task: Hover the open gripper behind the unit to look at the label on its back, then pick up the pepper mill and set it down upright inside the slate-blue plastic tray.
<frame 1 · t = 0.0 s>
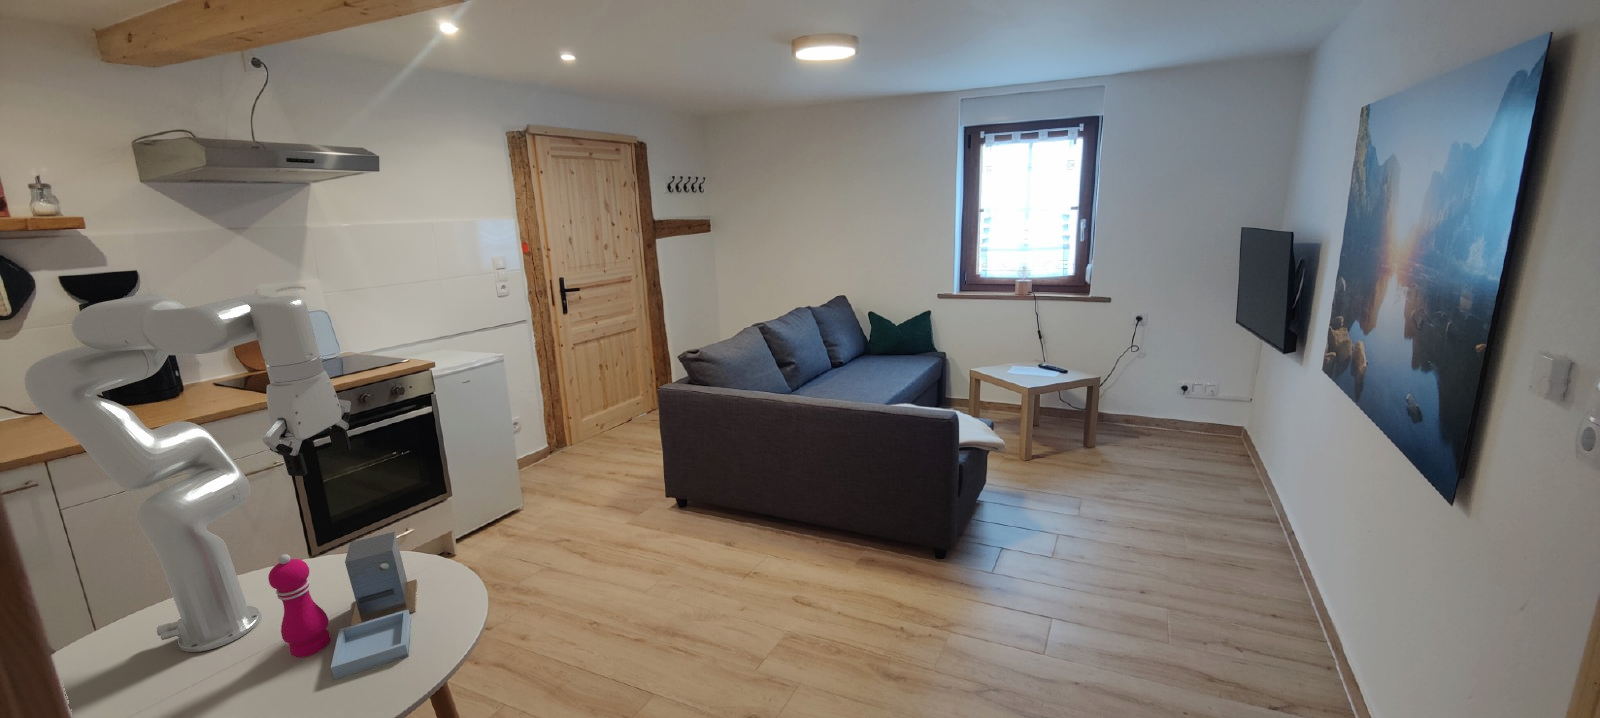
hand: (321, 462, 118), 37 cm above the table, tool pointing down, fingers open, 9 cm apart
parts tray: (374, 648, 126), on the table
pepper mill: (311, 647, 128), on the table
control unit: (386, 605, 139), on the table
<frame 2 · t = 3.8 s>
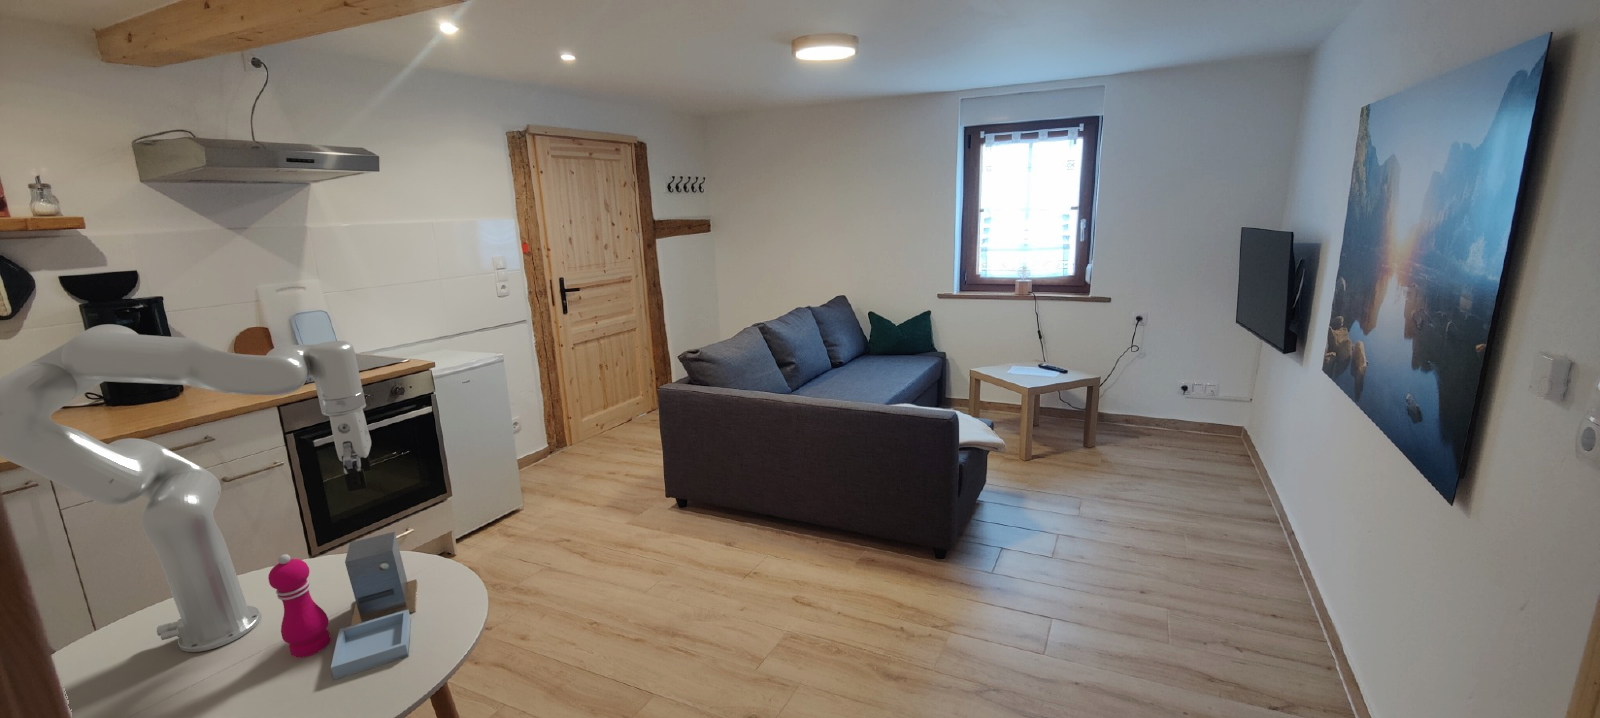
hand: (360, 479, 140), 25 cm above the table, tool pointing down, fingers open, 9 cm apart
nothing on the table moved.
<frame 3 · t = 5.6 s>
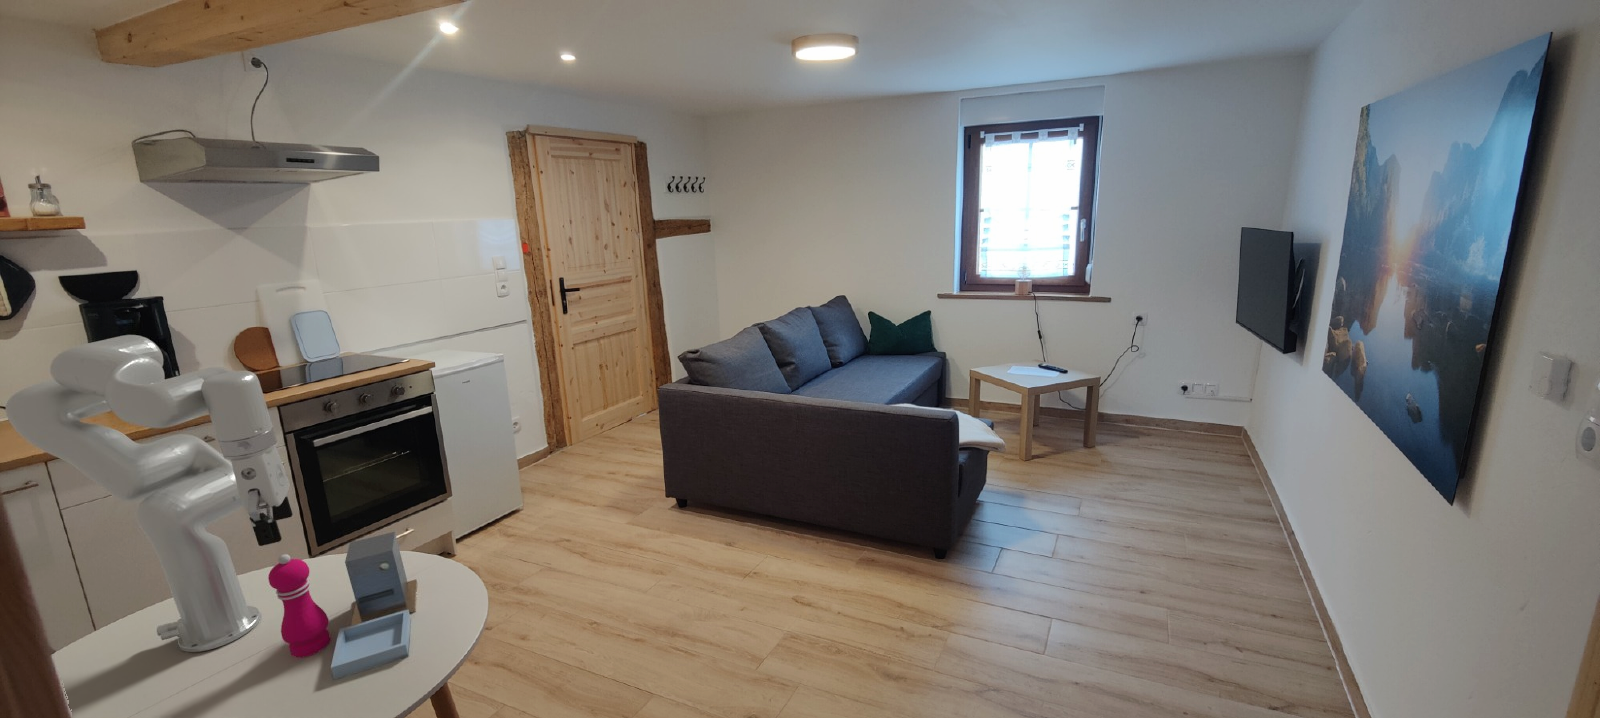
hand: (276, 530, 120), 25 cm above the table, tool pointing down, fingers open, 9 cm apart
nothing on the table moved.
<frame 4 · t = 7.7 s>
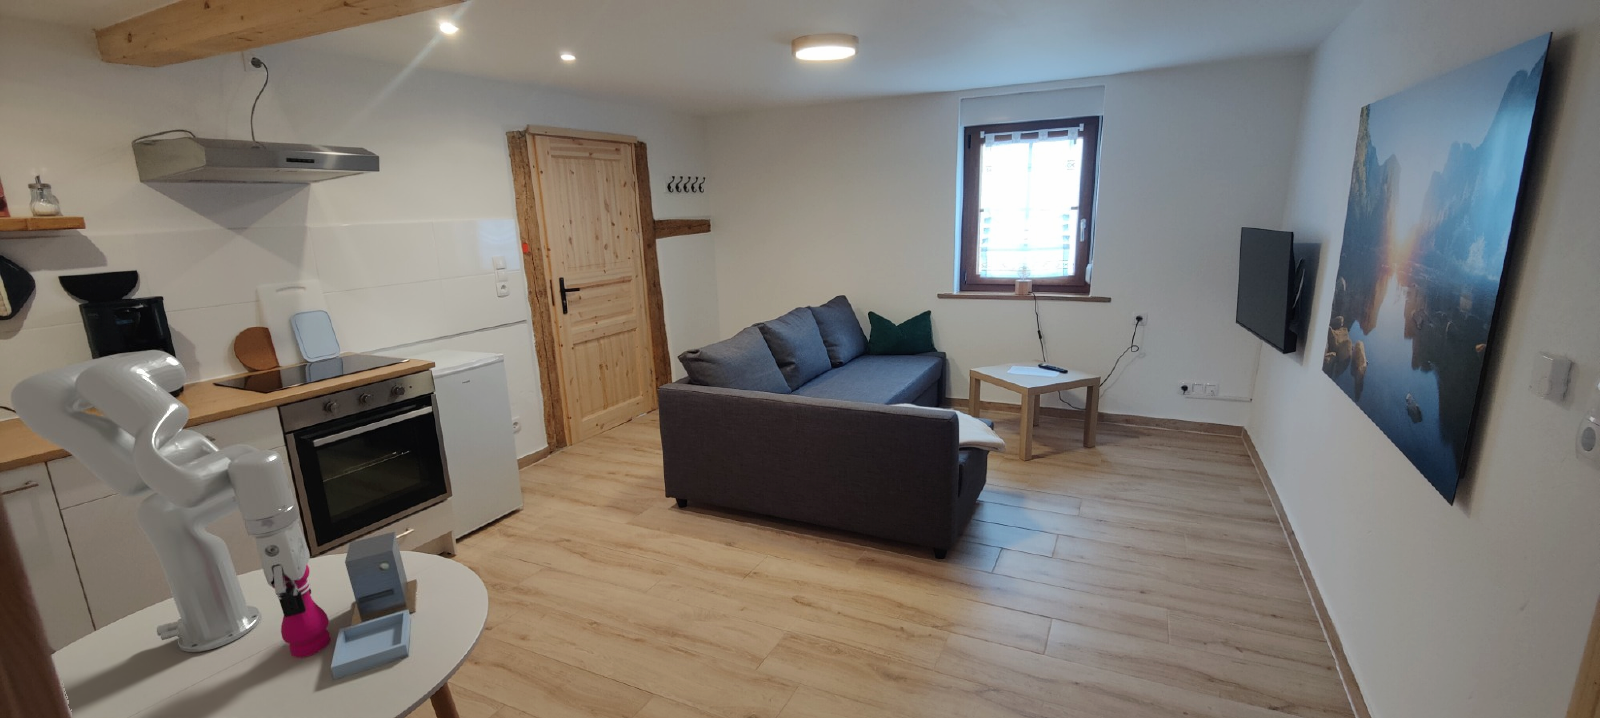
hand: (298, 604, 125), 9 cm above the table, tool pointing down, fingers closed on pepper mill, 5 cm apart
pepper mill: (311, 647, 128), on the table, touching gripper
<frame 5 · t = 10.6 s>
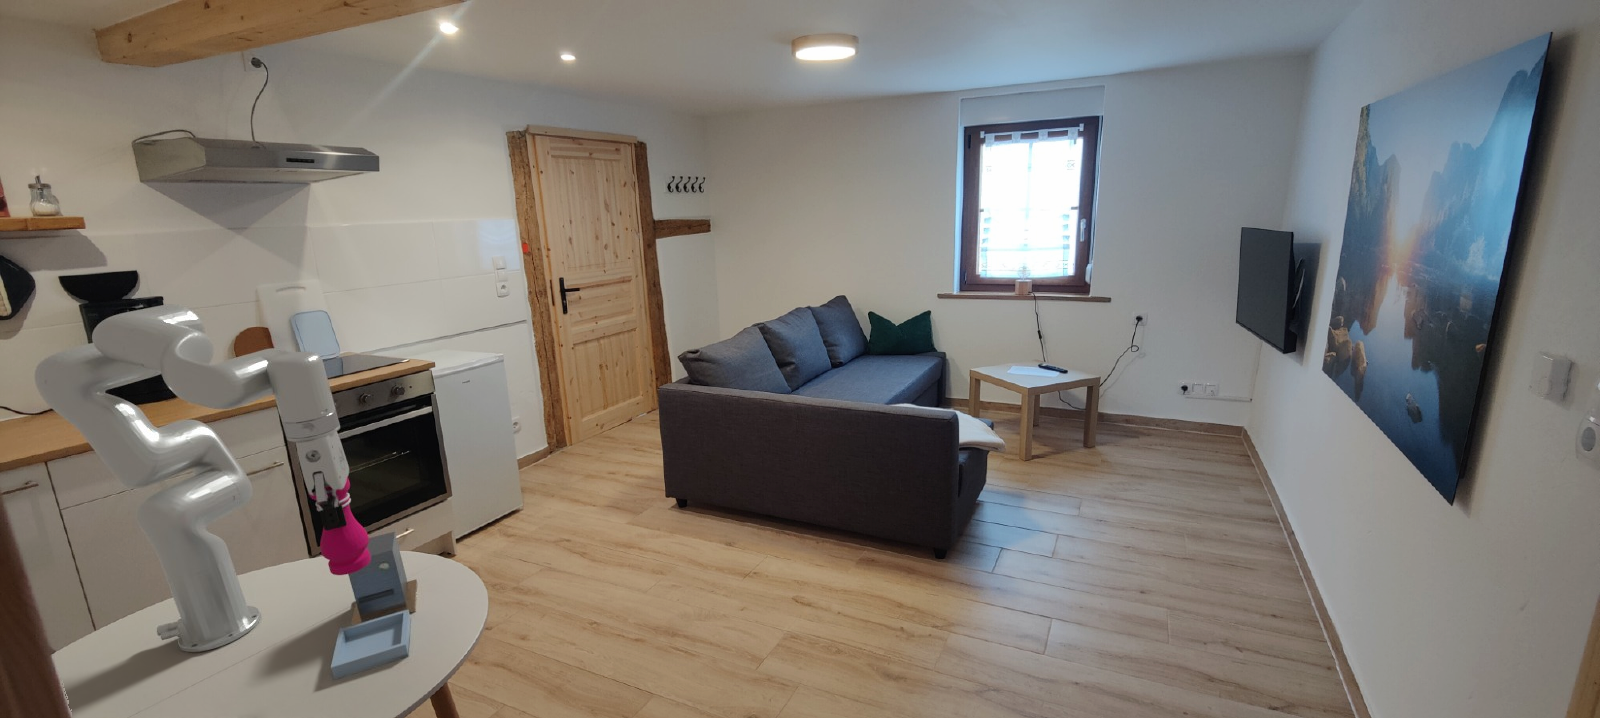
hand: (338, 519, 119), 27 cm above the table, tool pointing down, fingers closed on pepper mill, 5 cm apart
pepper mill: (351, 566, 121), point 18 cm above the table, touching gripper
when the fingers open (12 cm above the table, at t = 13.9 s): pepper mill drops 2 cm, resting on parts tray.
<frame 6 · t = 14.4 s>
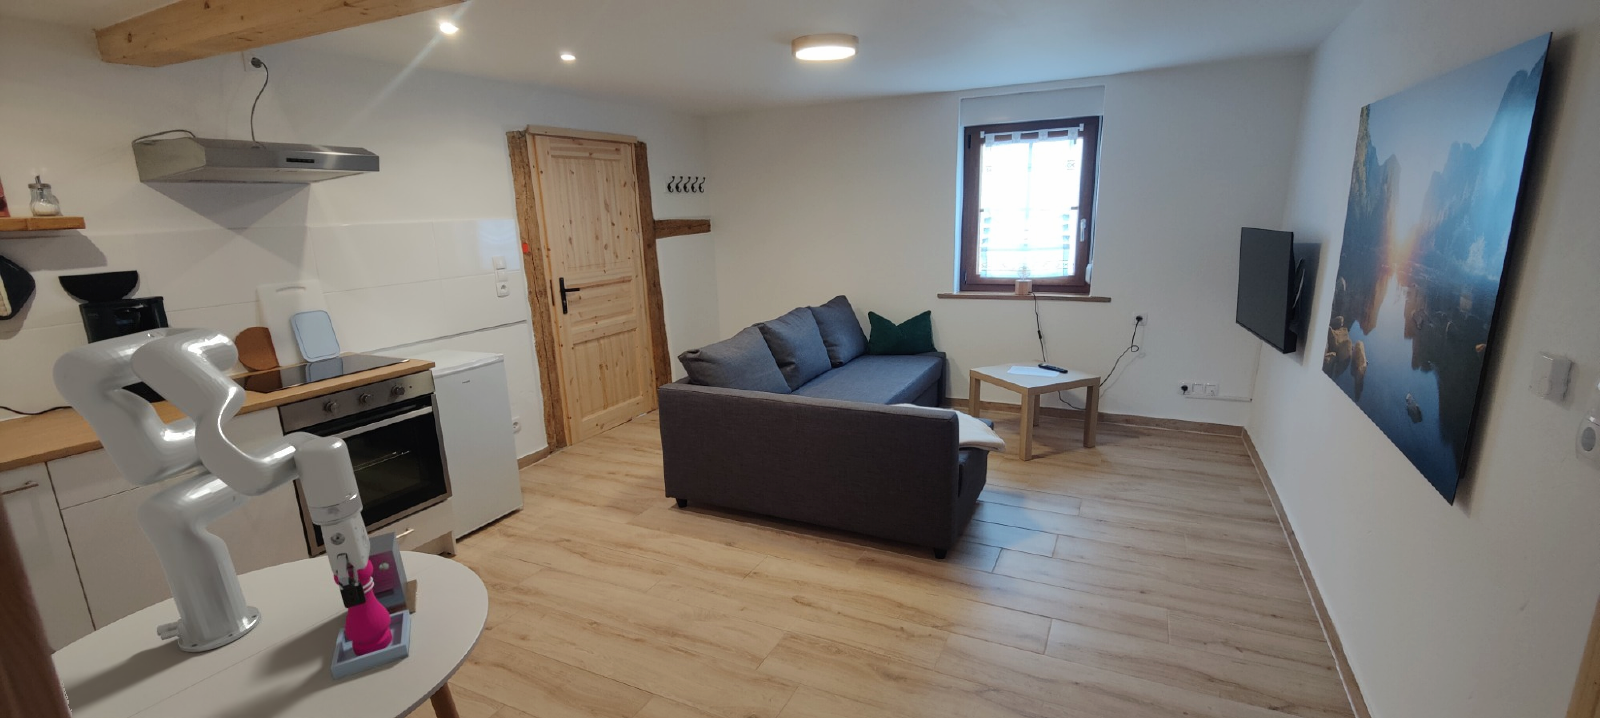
hand: (358, 590, 123), 13 cm above the table, tool pointing down, fingers open, 9 cm apart
pepper mill: (373, 645, 127), resting on parts tray
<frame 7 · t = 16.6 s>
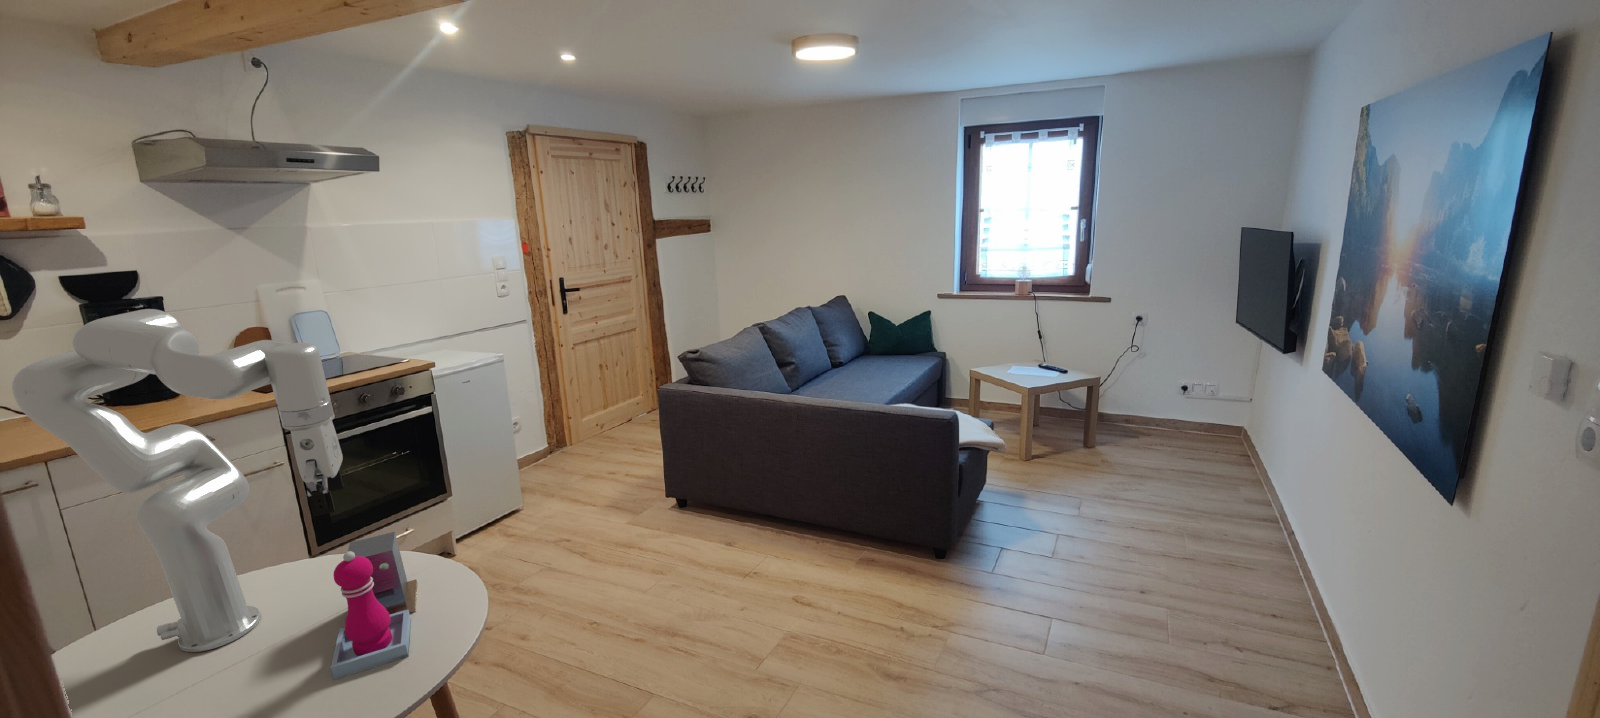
hand: (329, 501, 122), 29 cm above the table, tool pointing down, fingers open, 9 cm apart
nothing on the table moved.
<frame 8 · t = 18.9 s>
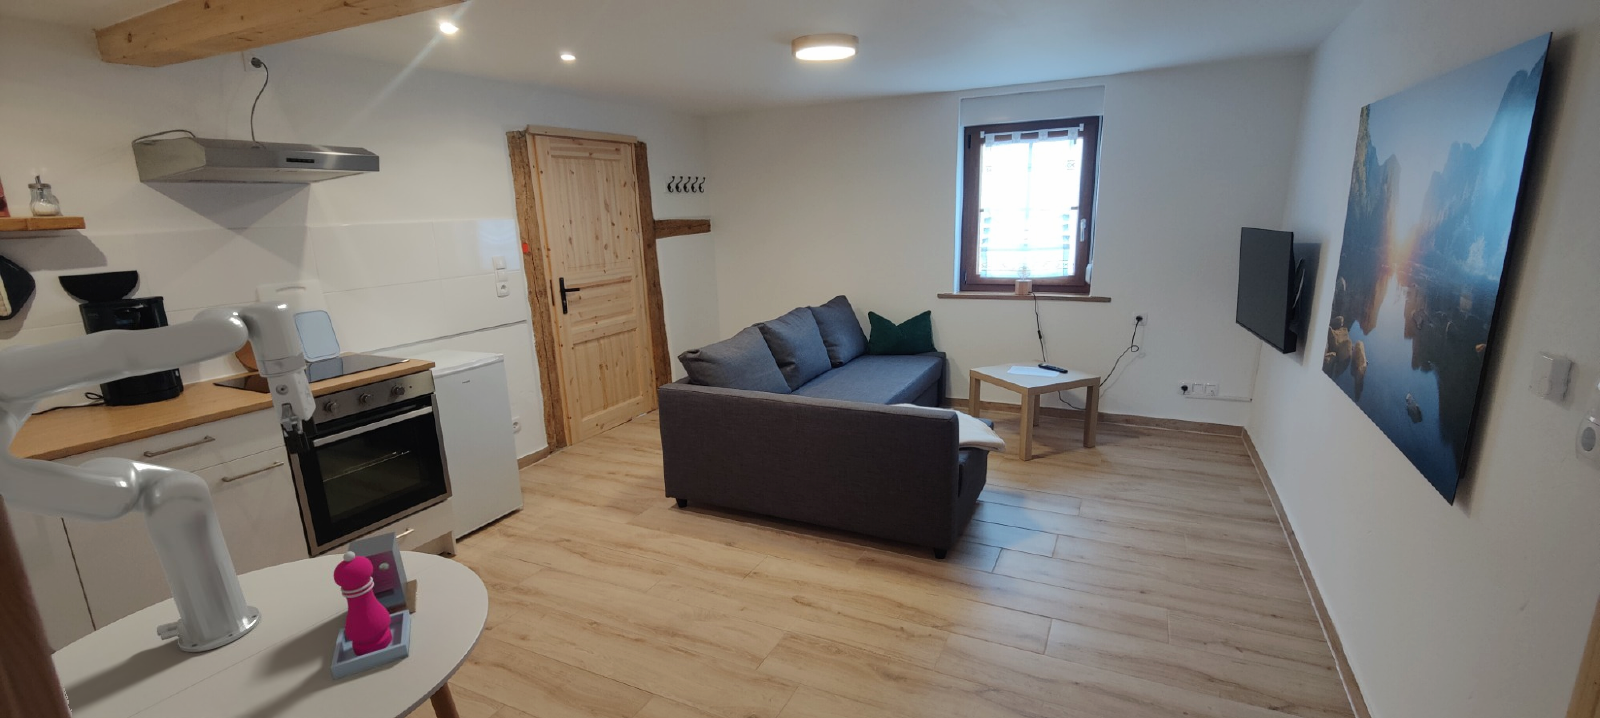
hand: (304, 443, 137), 33 cm above the table, tool pointing down, fingers open, 9 cm apart
nothing on the table moved.
at the end: pepper mill 0.4 cm off-centre on the parts tray, point 0.4 cm above the parts tray's base; pepper mill tilted 0°; the gripper is holding nothing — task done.
